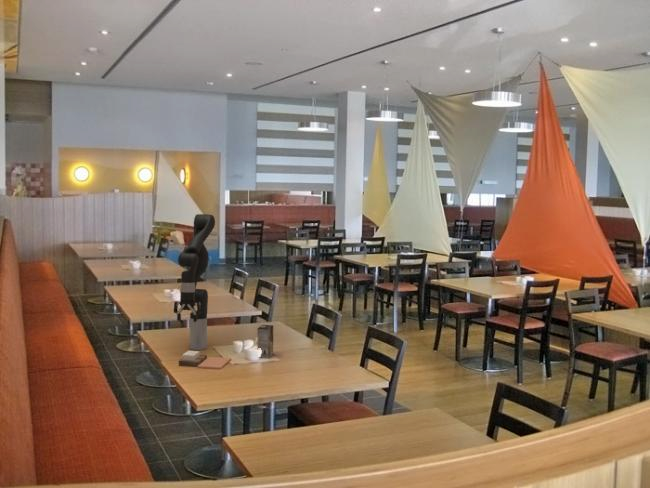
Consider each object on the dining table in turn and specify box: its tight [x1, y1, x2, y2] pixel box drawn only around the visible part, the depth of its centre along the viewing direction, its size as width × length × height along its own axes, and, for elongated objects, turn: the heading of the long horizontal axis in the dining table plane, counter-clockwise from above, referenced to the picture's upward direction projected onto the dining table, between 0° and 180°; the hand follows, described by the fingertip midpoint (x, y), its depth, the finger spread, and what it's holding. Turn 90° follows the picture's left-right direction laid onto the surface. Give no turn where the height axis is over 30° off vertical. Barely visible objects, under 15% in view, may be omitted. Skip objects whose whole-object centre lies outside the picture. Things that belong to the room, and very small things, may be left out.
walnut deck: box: [178, 354, 208, 368], centre depth 351 cm, size 14×10×2 cm
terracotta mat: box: [197, 356, 232, 370], centre depth 350 cm, size 18×12×1 cm, turn 172°
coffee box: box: [257, 324, 274, 359], centre depth 366 cm, size 9×6×16 cm
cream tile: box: [181, 350, 201, 360], centre depth 351 cm, size 9×6×2 cm, turn 172°
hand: (187, 321), depth 362 cm, fingers open, 8 cm apart
